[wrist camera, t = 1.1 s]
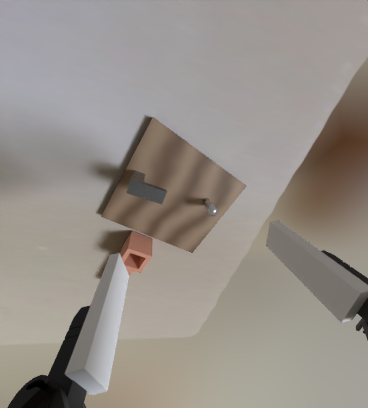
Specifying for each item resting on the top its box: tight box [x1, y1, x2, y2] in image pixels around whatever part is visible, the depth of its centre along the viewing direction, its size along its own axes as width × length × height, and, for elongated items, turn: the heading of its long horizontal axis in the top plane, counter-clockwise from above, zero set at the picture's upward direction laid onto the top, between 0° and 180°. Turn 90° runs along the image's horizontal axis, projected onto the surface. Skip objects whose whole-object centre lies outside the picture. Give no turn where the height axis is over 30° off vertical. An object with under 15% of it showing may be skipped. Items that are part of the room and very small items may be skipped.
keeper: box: [127, 170, 167, 204], centre depth 28 cm, size 6×2×7 cm, turn 66°
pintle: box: [202, 198, 218, 216], centre depth 32 cm, size 2×2×6 cm
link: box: [120, 231, 152, 275], centre depth 36 cm, size 16×5×6 cm, turn 146°
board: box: [101, 117, 246, 253], centre depth 33 cm, size 24×22×1 cm
